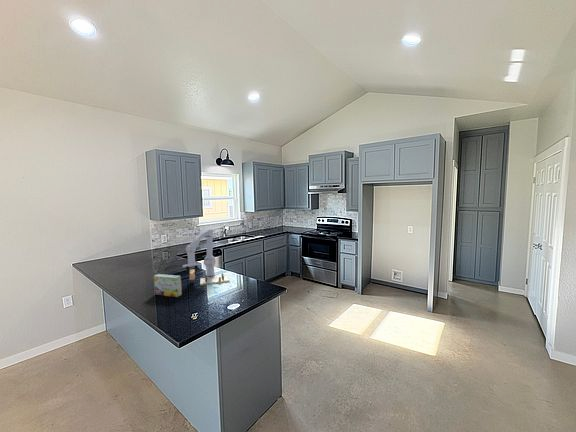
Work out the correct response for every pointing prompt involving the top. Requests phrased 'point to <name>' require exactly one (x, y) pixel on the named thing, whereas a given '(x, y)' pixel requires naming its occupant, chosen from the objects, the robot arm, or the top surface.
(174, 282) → the snack box
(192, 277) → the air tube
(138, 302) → the top surface
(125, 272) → the top surface
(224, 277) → the firebox plate
